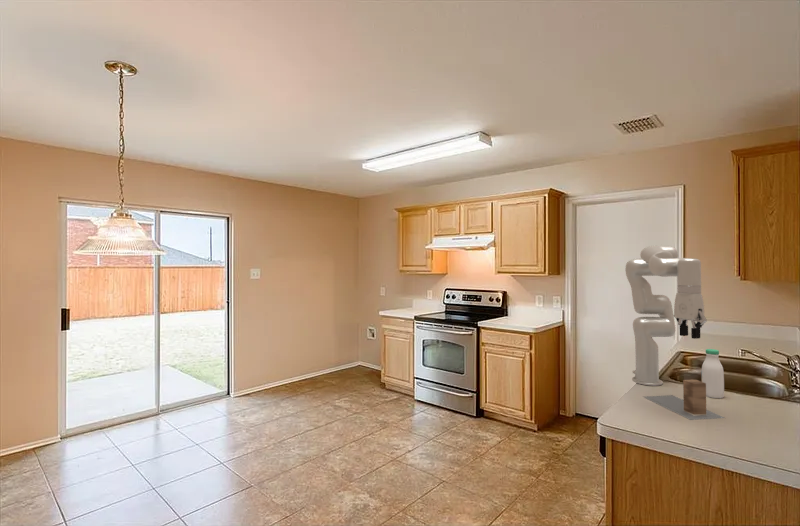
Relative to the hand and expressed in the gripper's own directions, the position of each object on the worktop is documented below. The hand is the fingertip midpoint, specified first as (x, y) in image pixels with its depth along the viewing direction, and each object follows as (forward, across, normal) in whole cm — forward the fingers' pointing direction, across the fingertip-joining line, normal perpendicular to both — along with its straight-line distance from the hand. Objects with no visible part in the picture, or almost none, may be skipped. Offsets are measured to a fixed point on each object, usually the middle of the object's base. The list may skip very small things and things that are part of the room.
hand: (689, 336), depth 158 cm
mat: (+29, -5, 0) cm, 30 cm away
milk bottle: (+30, -16, +24) cm, 41 cm away
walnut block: (+29, +2, 0) cm, 29 cm away
